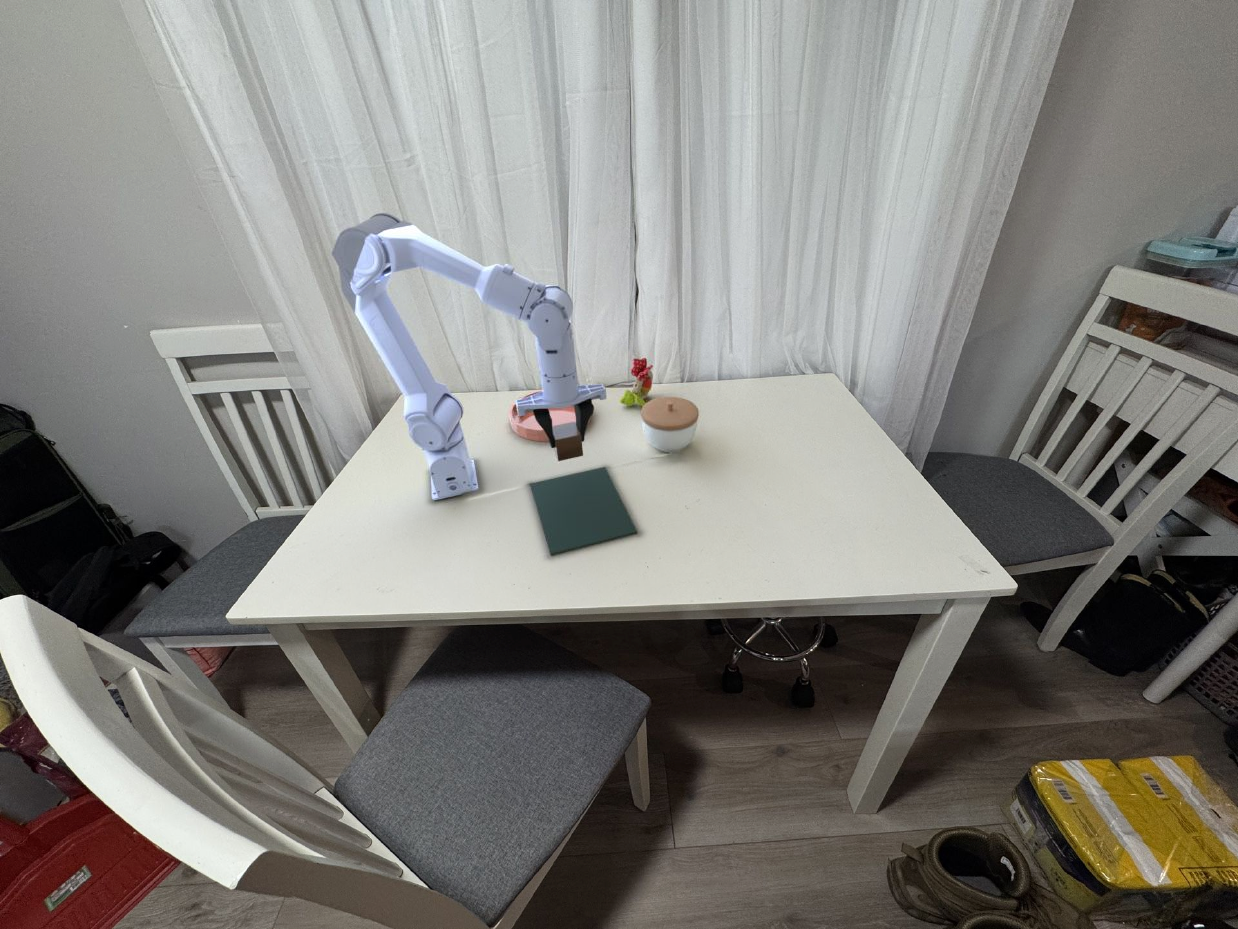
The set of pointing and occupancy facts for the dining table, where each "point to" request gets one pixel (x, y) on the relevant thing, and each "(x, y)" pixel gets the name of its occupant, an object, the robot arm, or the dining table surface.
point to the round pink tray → (531, 428)
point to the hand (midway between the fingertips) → (566, 441)
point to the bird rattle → (639, 383)
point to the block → (567, 441)
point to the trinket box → (669, 423)
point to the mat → (581, 510)
